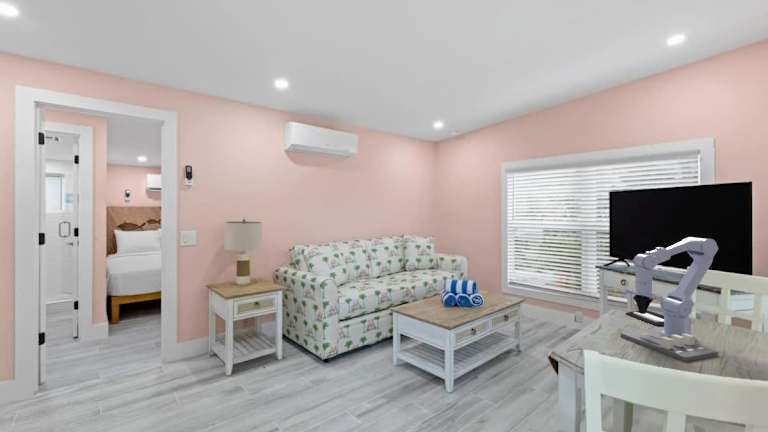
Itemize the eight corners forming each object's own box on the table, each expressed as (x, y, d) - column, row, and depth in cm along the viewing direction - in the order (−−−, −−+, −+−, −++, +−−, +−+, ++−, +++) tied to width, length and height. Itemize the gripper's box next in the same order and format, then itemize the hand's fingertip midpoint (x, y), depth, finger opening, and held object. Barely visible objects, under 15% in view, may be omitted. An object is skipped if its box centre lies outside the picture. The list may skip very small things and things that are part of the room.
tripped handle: (675, 343, 134) (676, 334, 134) (684, 346, 131) (684, 337, 131) (671, 344, 133) (671, 335, 133) (679, 347, 130) (680, 337, 130)
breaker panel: (650, 332, 150) (651, 320, 150) (717, 355, 127) (718, 342, 127) (620, 336, 145) (621, 324, 144) (684, 361, 122) (685, 347, 121)
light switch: (622, 310, 176) (646, 307, 178) (622, 316, 176) (646, 313, 178) (656, 324, 156) (683, 320, 158) (657, 330, 157) (683, 326, 158)
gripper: (620, 279, 152) (619, 309, 152) (654, 286, 138) (653, 319, 138) (632, 278, 154) (631, 307, 154) (667, 285, 140) (665, 318, 141)
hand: (642, 313), depth 147 cm, fingers closed
